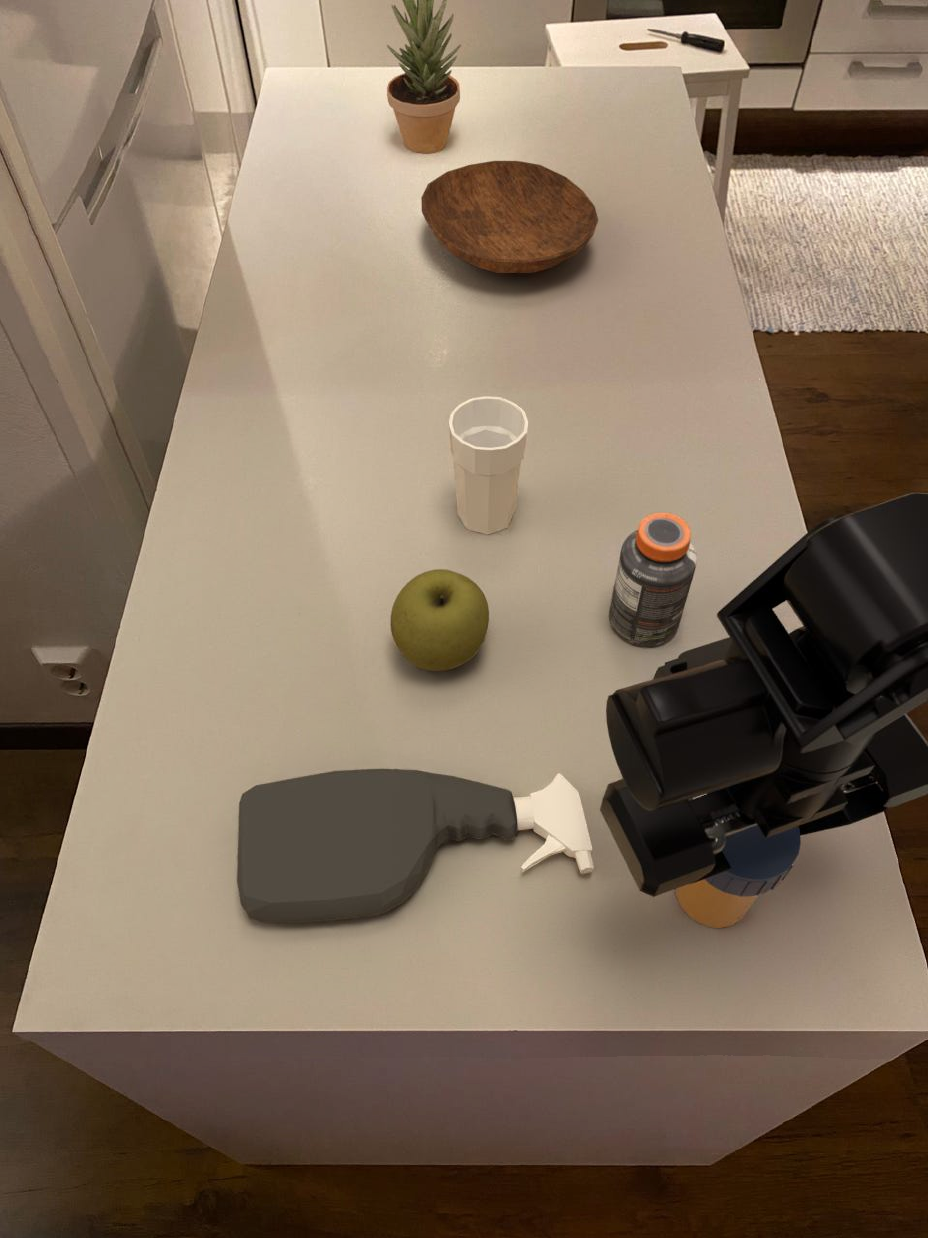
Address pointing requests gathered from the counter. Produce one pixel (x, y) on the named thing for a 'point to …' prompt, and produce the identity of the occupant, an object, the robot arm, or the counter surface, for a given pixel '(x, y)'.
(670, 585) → the pill bottle
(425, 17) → the potted plant
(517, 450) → the cup
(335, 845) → the spray bottle
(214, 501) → the counter surface
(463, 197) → the bowl
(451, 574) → the apple
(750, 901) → the jar
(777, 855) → the jar lid
